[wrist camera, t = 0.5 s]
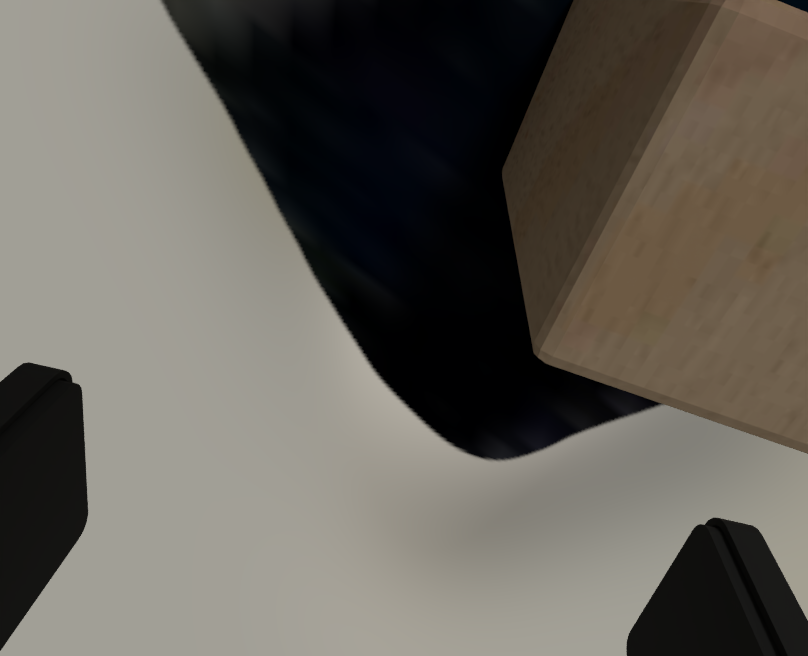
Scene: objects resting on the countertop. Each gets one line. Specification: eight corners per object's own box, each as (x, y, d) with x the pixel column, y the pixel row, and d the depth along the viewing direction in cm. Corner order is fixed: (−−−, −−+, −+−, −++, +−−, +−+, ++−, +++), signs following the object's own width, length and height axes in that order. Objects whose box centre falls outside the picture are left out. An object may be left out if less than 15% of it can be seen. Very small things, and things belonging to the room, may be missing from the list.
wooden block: (498, 175, 35) (528, 364, 18) (579, -19, 30) (731, -23, 13) (661, 235, 36) (845, 473, 18) (766, 56, 31) (1146, 147, 14)
